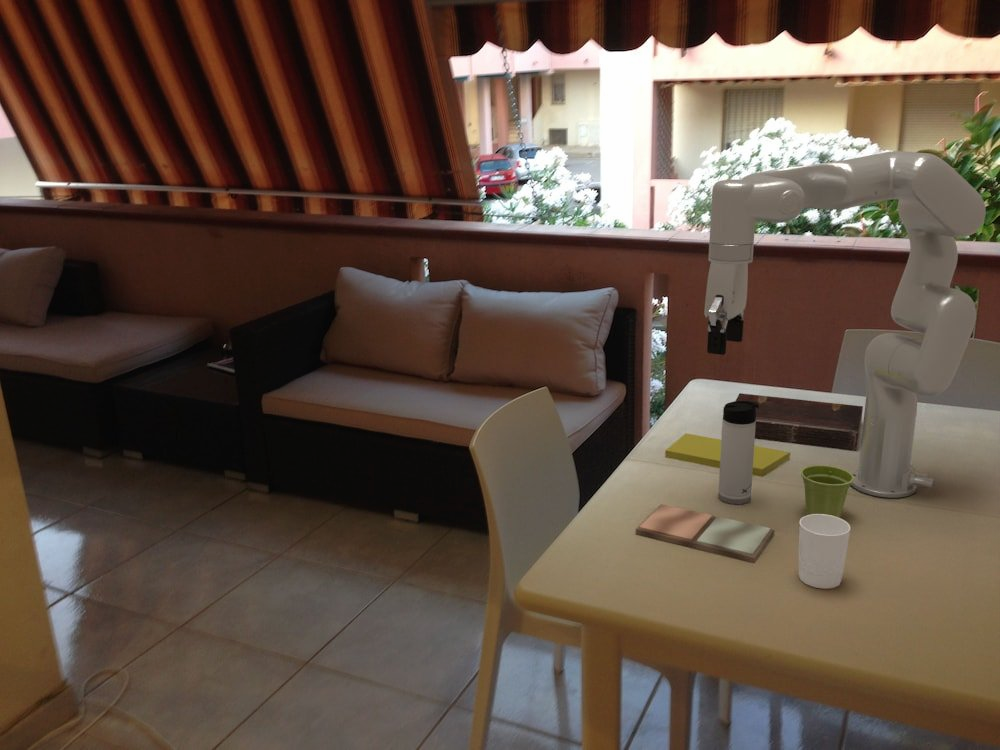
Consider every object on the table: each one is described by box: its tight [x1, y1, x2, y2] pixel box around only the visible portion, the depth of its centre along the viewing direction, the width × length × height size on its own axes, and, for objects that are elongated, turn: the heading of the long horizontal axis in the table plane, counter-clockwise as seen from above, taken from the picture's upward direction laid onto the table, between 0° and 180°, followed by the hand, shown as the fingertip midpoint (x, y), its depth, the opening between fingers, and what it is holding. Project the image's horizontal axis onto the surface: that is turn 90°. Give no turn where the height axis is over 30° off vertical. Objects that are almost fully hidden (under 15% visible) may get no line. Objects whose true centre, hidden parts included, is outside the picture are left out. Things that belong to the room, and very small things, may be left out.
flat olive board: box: [664, 432, 791, 478], centre depth 205 cm, size 12×2×24 cm
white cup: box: [798, 514, 851, 590], centre depth 153 cm, size 8×8×10 cm
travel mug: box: [718, 400, 759, 505], centre depth 182 cm, size 6×7×20 cm
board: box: [635, 504, 775, 564], centre depth 170 cm, size 22×12×1 cm, turn 59°
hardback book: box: [735, 392, 864, 452], centre depth 220 cm, size 29×19×5 cm, turn 67°
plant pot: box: [800, 464, 854, 518], centre depth 175 cm, size 9×9×9 cm
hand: (725, 347), depth 167 cm, fingers open, 9 cm apart
